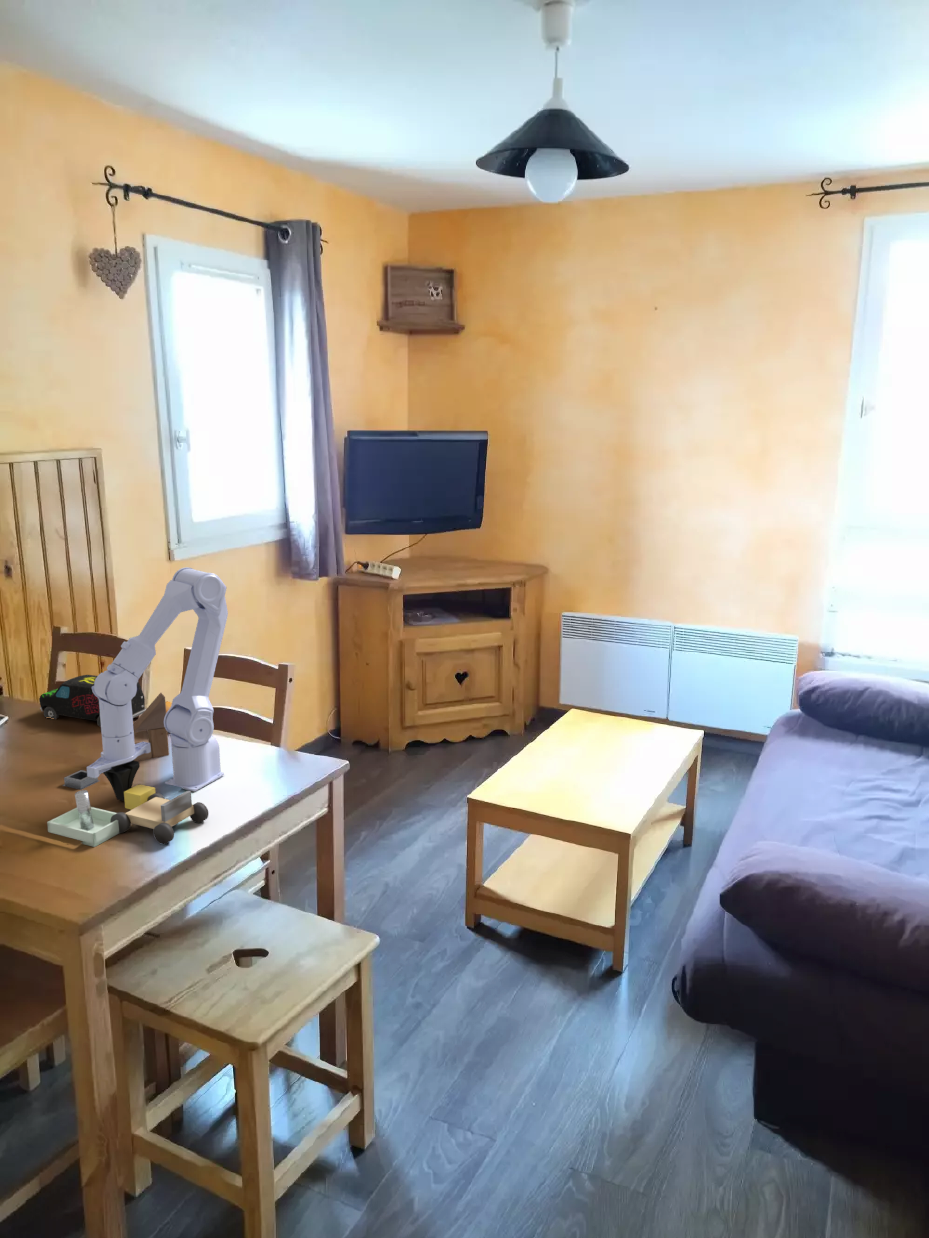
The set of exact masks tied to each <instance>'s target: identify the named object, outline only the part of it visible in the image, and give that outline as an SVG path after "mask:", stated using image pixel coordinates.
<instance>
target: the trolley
mask: <svg viewBox="0 0 929 1238" xmlns="http://www.w3.org/2000/svg"><path fill="white" fill-rule="evenodd" d="M192 802H193V801H192V791H190V790H186V791H184V792H182V793H181V794H179V795H177V796H175V797H174V798H172V799H168V798H165V796H164V795H163V794H162V793H159V792H156V793H154V794H152V795H151V796H149V797H148V799H147V802H145V803H143V804H142V805H140V806H138V807H136V808H134V809H132V810H131V809H129V811H127V812H123V811H118V812H116V813H117V814H115V815H113V816H112V817H111V822H113V821H115V820H118V824H119V834H123V833H125V832H126V831H128V830H129V829H130V828H131V825H132V824H133V825H136V826H141V827H144V828H149V829H153V831H152V832H153V837H154V840H156V841H157V842H158V844H160V845H167V844H168V843H170V842H171V841H173V839H174V837H175V831H174V828H173V827H174V826H176V825H178V824H179V823H180V822H182V821H183V820H186V819H188V818H190V819H191V820H192V821H193V822H194V823H196V824H201V823H203V822H204V821H206V820H207V819H208V818H209V809H208V808H207V805H205V804H204V803H203V802H196V803H193V804H192Z"/></svg>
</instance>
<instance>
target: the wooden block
mask: <svg viewBox="0 0 929 1238" xmlns="http://www.w3.org/2000/svg"><path fill="white" fill-rule="evenodd" d="M165 702H166V696H165V695H164V694H163V692H160V693H159V694H158V695H157V696H156V697H155V699H153V701H152V702H151V703H150V705H148V707H147V708H145V709H146V710H145V711H144V712H143V713H142V714H141V715H139V717H138V718H137V719H136V720H135V722H133V729H134V733H138V732H145V731H147V740H148V743H150V747H151V752H150V753H144V754H142V755H139V756H138V757H136V758H135V759H134V761H138V762H139V761H146V760H150V759H156V758H162V757H167V756H169V755H170V750H169V747H170V746H169V735H168V734H169V732H167V730H166V729H165V727H164V717H165V715H166V703H165ZM140 742H141V741H137V742H136V741H135V744H138V743H140Z"/></svg>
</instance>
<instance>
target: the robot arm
mask: <svg viewBox="0 0 929 1238" xmlns="http://www.w3.org/2000/svg"><path fill="white" fill-rule="evenodd" d="M226 592H227V586H226V584H225V583H224V582H223V580H222V579H221V578H220V576H219V575H217V574H216V573H213V572H206V571H202V570H198V569H194V568H192V567H182V568H179V569H178V570H176V572H175V573H174V575H173V576H172V578H171V580H169V582H168V583H166V586H165V590H164V594H163V596H162V597H161V599H160V601H159V602H158V604H157V605H156V607H155V609H154V610H153V612H152V613H151V616H149V618H148V620H147V622H146V623H145V625H144V627H143V628H142V630H141V632H140V633H139V634H138V635H136V636H132V637H130V638H129V639H128V640H127V641H125V640H124V641H123V642H122V644H121V645H120V647H121V649H120V651H118V652H119V653H118V654H117V655H116V657H115V658H114V659H113V661H112V662H111V663H109V664H108V665H107V667H106V670H104V671H103V672H100V673H99V674H98V675H96V676H97V678H96V679H95V682H94V686H92V691H93V693H94V695H95V696H96V697H98V699H99V707H100V721H101V727H100V731H101V743H102V751H101V752H100V757H98V759H96V760H95V761H94V762H92V763H91V764H89V765H88V766H86V771H87V776H88V777H92V778H97V777H98V778H99V777H100V775H101V774H103V775H104V776H105V777H106V778H107V780H108V782H109V783H110V786H111V787H112V790H113V792H114V793H113V794H114V795H115V797H116V800H117V801H122V802H125V800H124V792H125V791H127V790H129V789H131V788H132V787H133V782H134V780H135V777H136V775H137V773H138V770H139V769H140V767H141V766H140V762H139V761H134V759H135V758H136V757H138V756H139V755H142V754H144V753H150V752H151V747H150V743H149V742H147V741H139V742H140V743H138V744H135V743H136V741H135V732H134V729H133V724H134V718H133V716H132V705H131V699H132V698H133V697H134V696H135V695H136V692H137V682H139V679H140V678H141V676H142V675H143V673H144V672H145V670H146V669H147V668H148V666H150V664H151V662H152V661H153V659H154V657H155V656H156V654H157V653H156V651H157V650H156V644H157V643H158V641H160V640H161V638H162V636H163V635H164V634H165V633H166V631H167V630H168V629H170V628H169V627H170V626H171V625H172V624H173V622H174V621H175V620H176V619H177V617H178V616H179V615H180V614H181V613H185V612H187V611H188V612H189V611H192V610H193V612H194V613H195V614H196V615H197V617H198V619H197V624H196V629H195V632H194V636H193V641H192V645H191V649H190V654H189V658H188V662H187V666H186V670H185V674H184V678H183V679H184V680H183V683H182V688H181V692H179V693H178V694H177V695H176V696H175V697H173V699H172V701H171V703H172V705H171V707H170V709H169V710H168V711H167V713H166V715H165V717H164V727H165V729H166V730H167V731H168V732H167V733H168V734H170V744H171V746H170V747H171V756H172V757H171V758H172V759H171V761H172V770H173V771H172V772H173V778H170V779H168V780H166V781H165V782H164V784H166V785H169V786H175V787H179V788H180V789H182V790H184V791H185V790H186V791H191V792H196V791H198V790H200V789H201V788H203V787H205V786H207V785H210V784H211V783H212V782H215V781H216V780H218V779H220V778H223V776H224V775H225V773H224V772H222V771H221V754H220V745H219V742H218V740H217V738H216V737H215V736H213V734H214V731H215V729H214V728H215V726H214V725H215V724H214V720H213V718H214V717H213V716H214V712H215V711H214V707H213V705H212V703H211V701H210V697H209V696H210V692H211V688H212V684H213V680H214V676H215V671H216V667H217V663H218V658H219V654H220V650H221V647H222V646H221V645H222V640H223V637H224V632H225V628H226V624H227V620H228V614H229V610H228V605H227V599H226Z"/></svg>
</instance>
